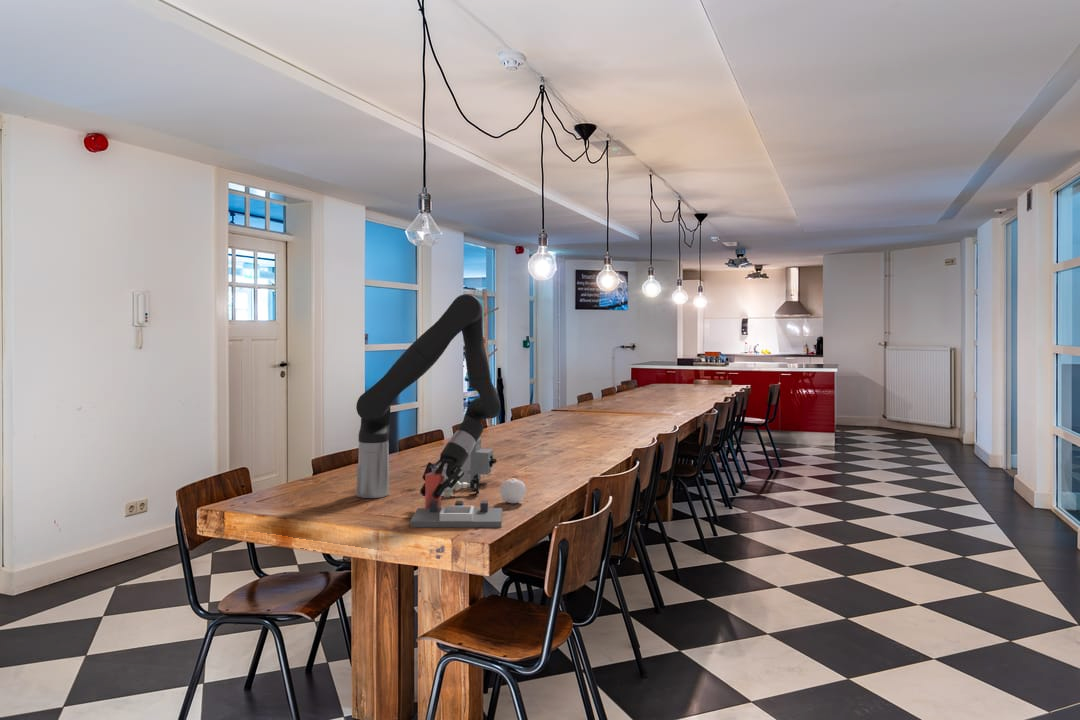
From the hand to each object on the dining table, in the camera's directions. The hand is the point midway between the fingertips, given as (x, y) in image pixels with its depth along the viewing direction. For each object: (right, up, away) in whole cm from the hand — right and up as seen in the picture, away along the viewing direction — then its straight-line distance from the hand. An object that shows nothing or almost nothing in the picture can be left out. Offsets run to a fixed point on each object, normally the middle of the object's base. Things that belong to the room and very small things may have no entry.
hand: (428, 495), depth 191 cm
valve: (+6, -4, +20) cm, 21 cm away
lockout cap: (+1, -4, +2) cm, 5 cm away
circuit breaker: (+10, -4, +39) cm, 40 cm away
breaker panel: (+10, -5, -9) cm, 14 cm away
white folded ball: (+24, -5, +11) cm, 26 cm away
